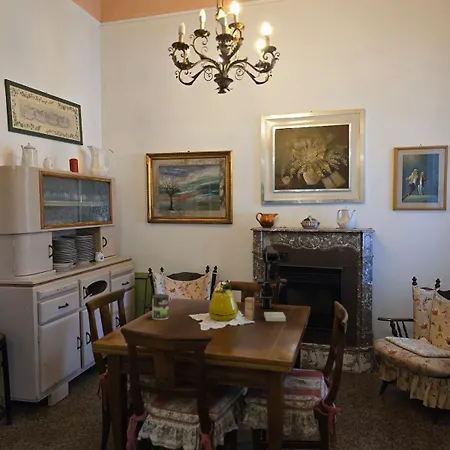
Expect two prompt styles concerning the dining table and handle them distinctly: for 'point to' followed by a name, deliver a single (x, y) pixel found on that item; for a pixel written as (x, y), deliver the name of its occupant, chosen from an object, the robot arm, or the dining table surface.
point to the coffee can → (160, 306)
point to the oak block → (249, 308)
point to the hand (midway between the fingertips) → (271, 295)
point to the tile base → (274, 316)
